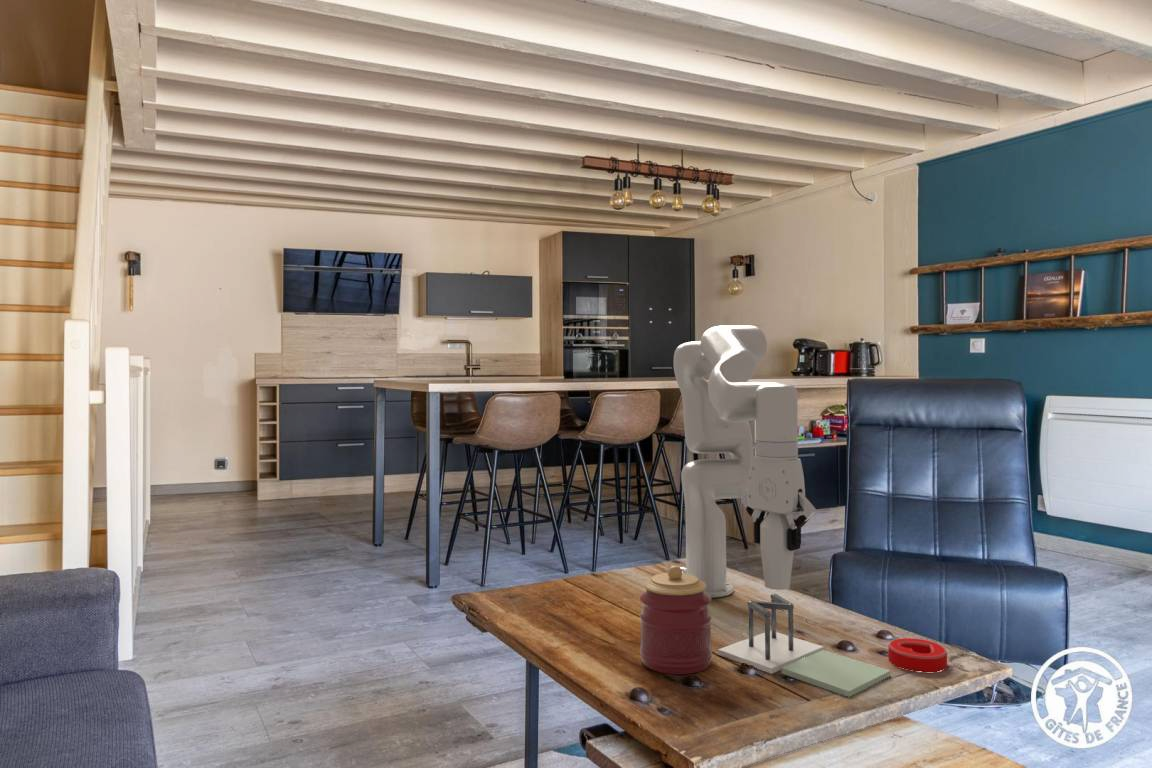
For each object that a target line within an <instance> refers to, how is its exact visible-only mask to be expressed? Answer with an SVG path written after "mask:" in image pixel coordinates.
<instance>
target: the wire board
mask: <svg viewBox="0 0 1152 768" xmlns="http://www.w3.org/2000/svg"><path fill="white" fill-rule="evenodd" d="M824 648H825V647H824V646H823V645H820V644H817V643H813V642H810V641H807V640H803V639H800V638H797V637H794V636H793V651H790V650H788V634H787V635H786V634H785V633H784V634H783V633H781V632H778V631H776V638H772V633H771V629H770V660H766V659H765V632H762V633H759V634H757V635H754V647H749V637H748V638H746V639H743V640H740V641H737V642H734V643H732V644H729V645H727V646H724V647H721V648H718V649H717V654H718V656H720V657H723V658H726V659H729V660H731V661H734V662H737V663H740V664H742V663H750V664H751V665H753V666H754V667H755V668H754V667H753V668H754V669H756V668H757V669H756V670H760V671H762V672H764V673H768V674H770V675H773V674H774V673H777V672H779V671H781V668H782V667H784V666H787V665H789V664H791V663H794V662H796V661H799V660H800V659H802V658H804V657H808V656H810V655H813V654H815V653H818V652H820V651H822V650H824Z"/></svg>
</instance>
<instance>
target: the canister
mask: <svg viewBox="0 0 1152 768" xmlns="http://www.w3.org/2000/svg"><path fill="white" fill-rule="evenodd" d="M680 567H681V566H679V565H671V566H669V568H668V569H667V572H661V573H657V574H655V575H653V576H652V577H651V578H649V579H647V580H646V581H645V582H644V583H643V586H644V589H645V591H642V593H641V594H640V595H639V601H640V602H641V604H642V610H641V612H640V613H639V618H640V646H639V649H640V652H639V654H640V657H641V663H642V664H643V665H644V666H645V667H646V668H648V669H650V670H652V671H655V672H659V673H663V674H670V675H688V674H689V675H690V674H695V673H699V672H701V671H704V670H706V669H707V668H709V666H710V665H711V659H712V658H713V655H712V647H711V646H712V645H711V643H712V641H711V637H712V636H711V634H712V633H711V628H712V627H711V621H712V615H711V614H710V612H709V605H710V604H711V602H712V598H711V597H710V596H709V595H708V594H707V593H705V591H704V590H705V589H706V584H705V583H704V582H703V581H701V580H699V579H698V578H697V577H696V576H694V575H691V574H686V573H682V570H681V568H680Z"/></svg>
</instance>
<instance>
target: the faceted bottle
mask: <svg viewBox="0 0 1152 768" xmlns="http://www.w3.org/2000/svg"><path fill="white" fill-rule="evenodd" d="M789 528H790V525H789V523H788V520H787V517H786V515H785V514H777V513H771V512H767V514H766V517H765V518H764V520H763V521H762V522H761V524H760V543H759V544H760V546H759V547H760V557H761V564H762V571H763V572H762V574H763V581H764V586H765V588H767V589H770V590H777V591H778V590H780V591H781V590H788V589H790V588H791V582H792V581H791V580H792V572H793V561H794V554H795V550H793V551H789V550H788V549H787V530H788V529H789Z"/></svg>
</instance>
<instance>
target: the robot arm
mask: <svg viewBox="0 0 1152 768" xmlns="http://www.w3.org/2000/svg"><path fill="white" fill-rule="evenodd" d="M766 337H767V336H766V335H765V333H764V332H763V330H762V329H761V328H759V327H758V326H756V325H746V324H745V325H741V324H739V325H737V324H736V325H735V324H733V325H731V324H729V325H728V324H727V325H725V324H724V325H723V324H722V325H716V326H712V327H710V328H708V329H707V330H705V331H704V332H703V334H702V335H701V337H700V340H694V341H688V342H684V343H681V344H680V345H678V346H677V347H676V348H675V350H674V354H673V371H674V376H675V380H676V382H677V385H678V387H679V388H678V389H679V391H680V393H681V398H682V399H681V400H682V409H683V411H682V412H683V425H684V426H683V427H684V440H685V444H686V447H687V449H688V451H689V452H691V453H694V454H701V455H703V454H704V455H706V454H729V456H730V458H706V459H704V458H703V459H696V460H691V461H689V462H687V463H686V464H685V465H684V466H683V468H682V470H681V473H680V474H681V475H680V476H681V477H680V478H681V479H680V480H681V486H682V491H683V499H684V506H685V507H684V509H685V511H684V512H685V567H684V566H679V567H680V568H681V570H682V573H686V574H691V575H694V576H696V577H697V578H698V579H699V580H701V581H703V582H704V583H705V584H706V589H705V590H704V591H705V593H707V594H708V595H709V596H710V597H711V599H713V598H715V599H716V598H722V597H726V596H730V595H731V594H733V592H734V587H733V585H732V584H731V583H729V582H727V527H726V526H727V524H726V523H727V522H726V517H725V514H724V512H723V511H722V509H721V508H720V507H719V506H718V504H717V502H716V500H722V499H723V500H725V499H726V500H727V499H740V502H741V504H742V506H743V507H744V509H746V512H747V514H748V516H749V517H750V521H751V522H752V523H753V536H754V543H755V544H756V545H757V544H760V524H761V522H762V521H763V520H764V518H765V517H766V516H767V514H768V513H769V512H771V513H777V514H785V515H786V517H787V520H788V523H789V525H790V528H789V529H788V530H787V549H788V550H789V551H793V550H794V551H796V550H800V548H801V545H802V528H804V527H805V525H806V524H807V522H808V521H809V520H810V518H812V517H813V516H814V514H816V513H817V509H816V507H815V506H814V505H813V504H812V503H811V502H810V500H809V499H808V498H807V497H806V488H805V487H806V486H805V477H804V470H803V465H802V460H801V458H799V456H798V455H799V448H798V447H799V443H798V441H799V439H798V438H799V437H798V436H799V435H798V431H799V430H798V429H799V427H798V426H799V425H798V423H799V422H798V420H799V419H798V418H799V417H798V409H799V408H798V407H799V405H798V390H797V388H796V386H794V385H792V384H788V383H781V382H776V381H750V380H751V379H752V377H753V376H754V374H755V372H756V368H757V366H758V365H759V364H760V363H761V362H762V361H763V360H764V358H765V356H766V355H767V351H768V350H767V349H768V341H767V338H766ZM705 377H708V380H707V379H706V378H705ZM749 421H755V441H753V437H752V429H751V425H750V423H749ZM754 450H755V455H754ZM801 512H802V513H801Z"/></svg>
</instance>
